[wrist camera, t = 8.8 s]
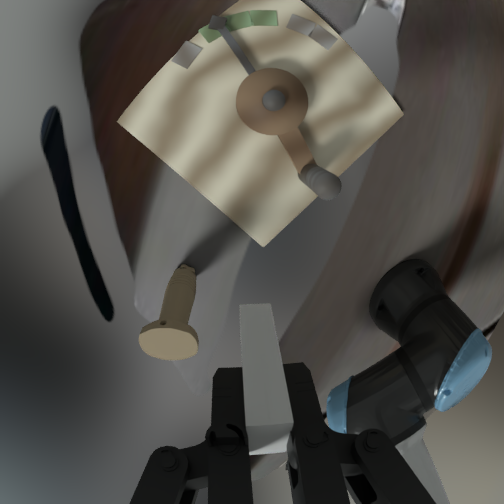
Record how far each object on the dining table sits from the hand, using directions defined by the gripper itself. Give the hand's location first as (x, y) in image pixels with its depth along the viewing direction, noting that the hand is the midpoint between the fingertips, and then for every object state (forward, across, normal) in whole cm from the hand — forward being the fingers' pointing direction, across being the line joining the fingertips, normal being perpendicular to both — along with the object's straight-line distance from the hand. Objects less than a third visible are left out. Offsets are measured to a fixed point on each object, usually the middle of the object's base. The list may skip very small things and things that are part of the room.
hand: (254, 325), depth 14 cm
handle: (+25, -8, -11) cm, 28 cm away
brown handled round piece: (+23, +3, +13) cm, 27 cm away
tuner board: (+25, +4, +12) cm, 28 cm away
